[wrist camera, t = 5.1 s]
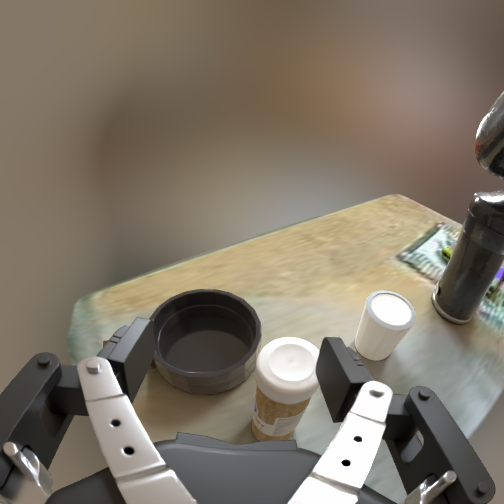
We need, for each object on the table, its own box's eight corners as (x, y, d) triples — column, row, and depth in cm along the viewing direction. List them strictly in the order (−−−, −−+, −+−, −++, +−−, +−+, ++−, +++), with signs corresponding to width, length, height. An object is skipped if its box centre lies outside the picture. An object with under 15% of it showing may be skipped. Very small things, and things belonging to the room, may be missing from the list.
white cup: (352, 364, 30) (371, 329, 26) (347, 324, 36) (361, 287, 32) (399, 363, 30) (422, 329, 26) (390, 326, 35) (407, 290, 31)
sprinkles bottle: (246, 414, 25) (248, 341, 18) (287, 404, 26) (310, 328, 19) (257, 451, 21) (268, 400, 14) (300, 439, 22) (338, 379, 15)
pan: (240, 304, 39) (240, 280, 37) (275, 379, 29) (279, 359, 26) (150, 322, 35) (143, 299, 33) (163, 406, 25) (152, 388, 23)
